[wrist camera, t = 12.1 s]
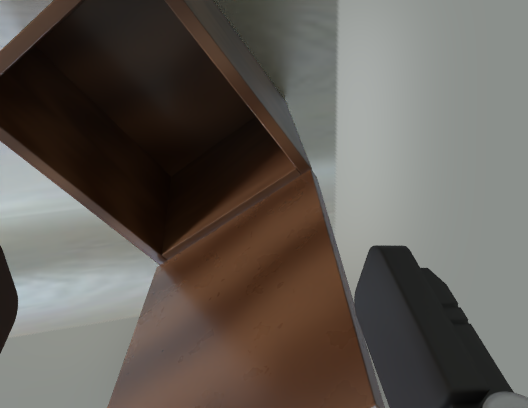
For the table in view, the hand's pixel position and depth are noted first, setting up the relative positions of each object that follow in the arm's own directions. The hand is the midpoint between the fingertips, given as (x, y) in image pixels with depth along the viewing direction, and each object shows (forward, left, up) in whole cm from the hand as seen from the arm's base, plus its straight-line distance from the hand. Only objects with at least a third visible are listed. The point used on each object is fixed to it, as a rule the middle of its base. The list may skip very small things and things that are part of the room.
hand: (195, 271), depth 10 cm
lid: (+9, -6, -8) cm, 13 cm away
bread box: (+2, -6, -28) cm, 29 cm away
